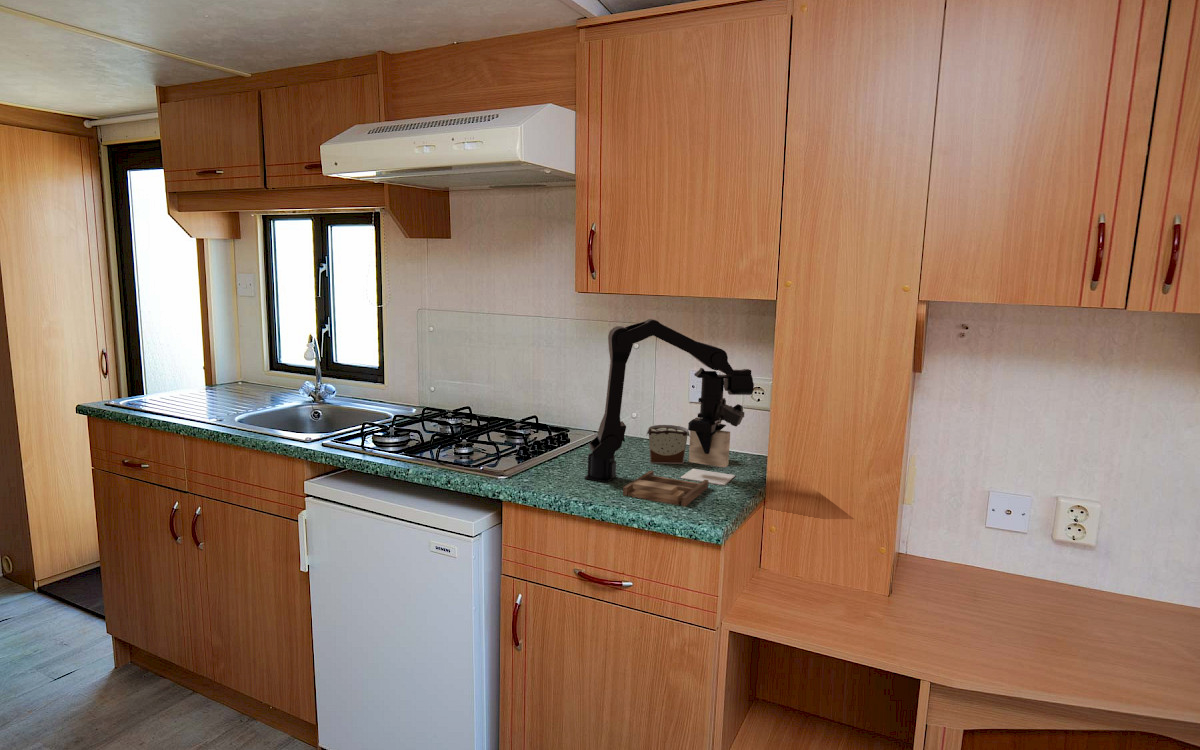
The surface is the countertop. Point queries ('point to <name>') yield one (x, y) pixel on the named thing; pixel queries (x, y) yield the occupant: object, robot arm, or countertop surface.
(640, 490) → the offcut stack
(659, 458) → the food container
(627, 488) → the rack
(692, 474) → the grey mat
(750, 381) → the robot arm
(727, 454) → the maple panel
